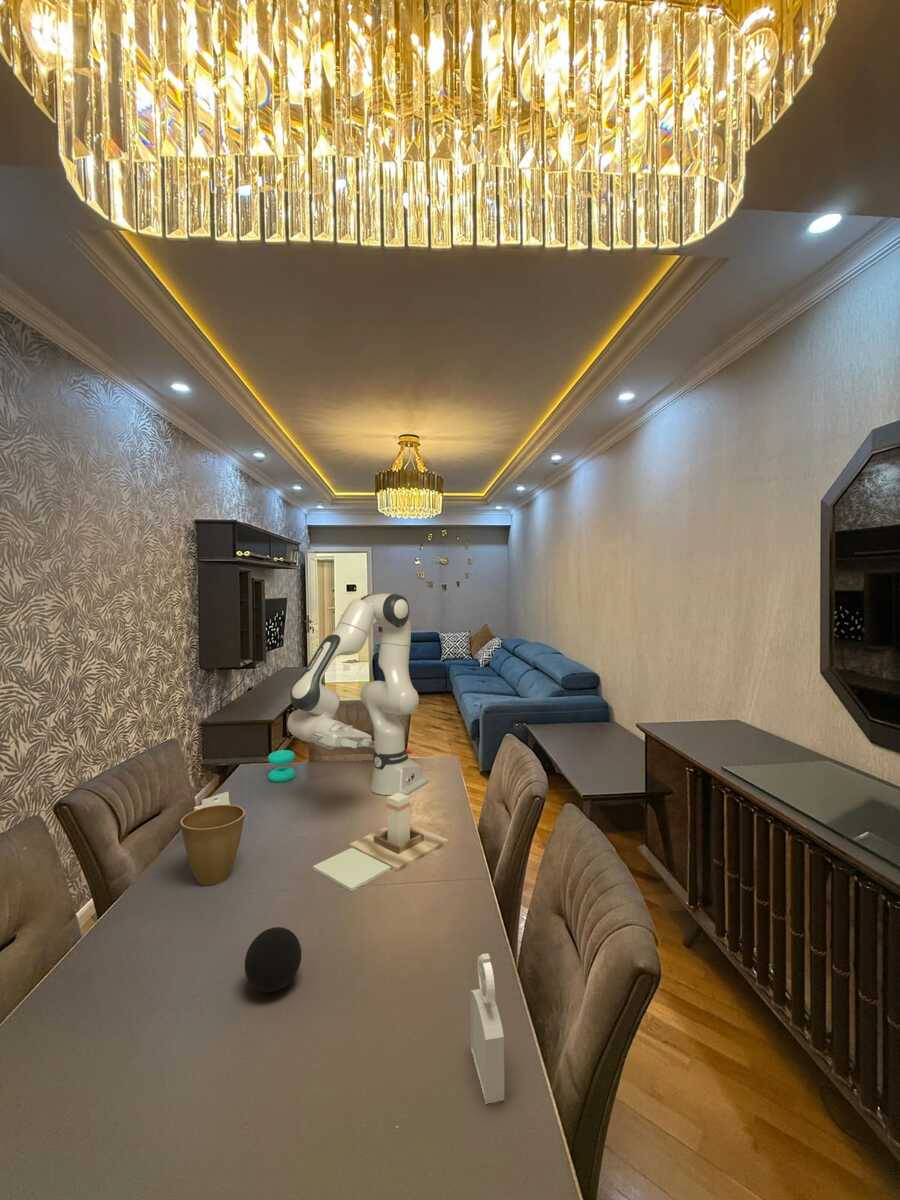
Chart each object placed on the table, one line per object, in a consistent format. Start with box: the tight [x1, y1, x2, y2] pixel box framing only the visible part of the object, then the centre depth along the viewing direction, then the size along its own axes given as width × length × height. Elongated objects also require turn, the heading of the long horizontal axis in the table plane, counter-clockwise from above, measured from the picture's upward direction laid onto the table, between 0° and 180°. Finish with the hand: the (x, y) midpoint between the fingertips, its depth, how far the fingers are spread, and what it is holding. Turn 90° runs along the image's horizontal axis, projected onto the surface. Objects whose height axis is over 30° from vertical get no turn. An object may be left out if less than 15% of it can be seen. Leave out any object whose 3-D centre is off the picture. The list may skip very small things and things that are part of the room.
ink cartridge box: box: [193, 791, 231, 811], centre depth 153 cm, size 9×5×15 cm, turn 143°
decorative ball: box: [244, 926, 302, 993], centre depth 98 cm, size 10×10×10 cm
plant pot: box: [180, 804, 246, 886], centre depth 135 cm, size 15×15×16 cm
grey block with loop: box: [469, 953, 505, 1105], centre depth 80 cm, size 3×9×18 cm, turn 11°
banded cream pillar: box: [386, 793, 411, 846], centre depth 151 cm, size 5×5×14 cm
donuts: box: [267, 749, 296, 783], centre depth 206 cm, size 10×10×10 cm
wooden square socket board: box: [348, 823, 449, 872], centre depth 151 cm, size 20×20×3 cm
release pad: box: [312, 848, 392, 892], centre depth 139 cm, size 13×16×1 cm
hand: (366, 745), depth 160 cm, fingers open, 8 cm apart
